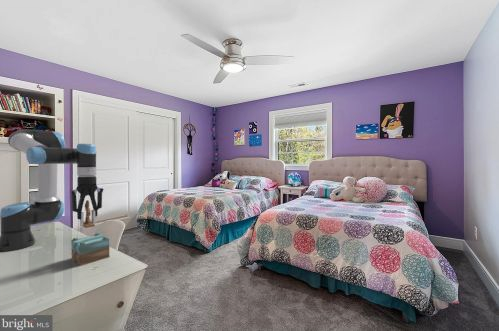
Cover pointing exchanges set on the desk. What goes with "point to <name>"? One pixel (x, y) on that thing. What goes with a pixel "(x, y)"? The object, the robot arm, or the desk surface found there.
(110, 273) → the desk surface
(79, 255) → the teal and brown block
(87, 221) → the lever handle backplate
